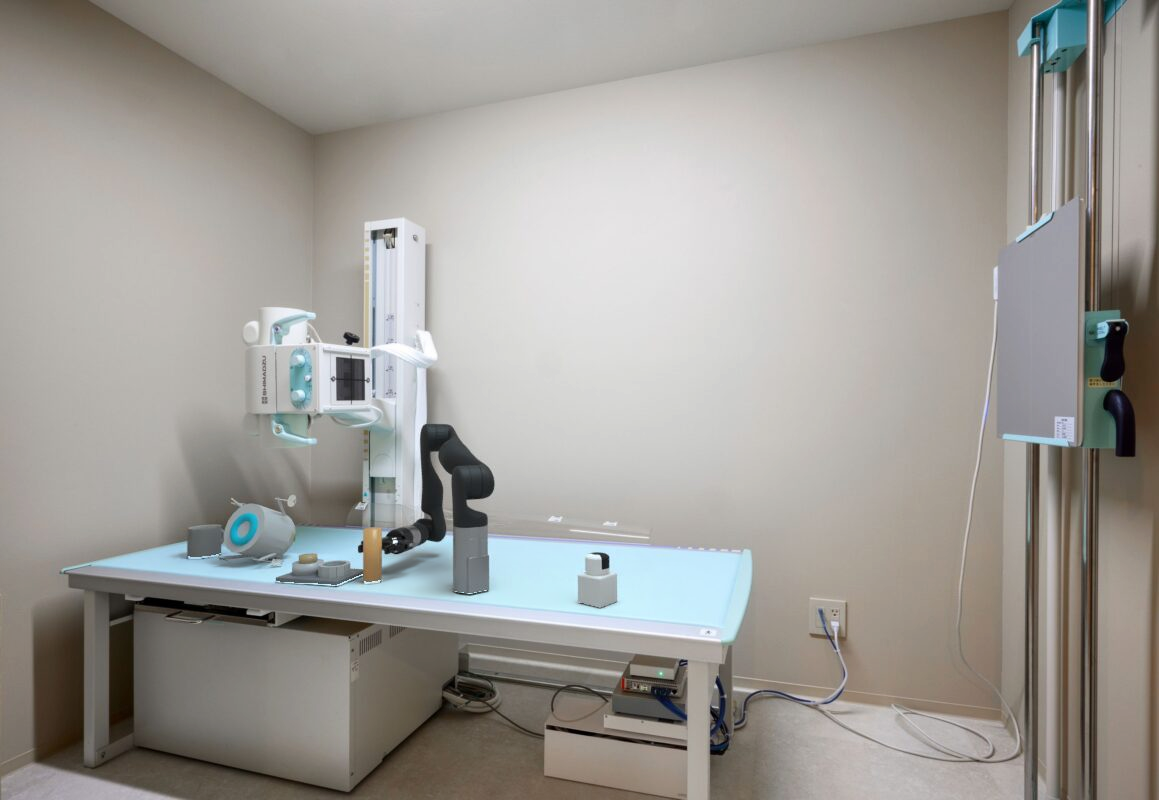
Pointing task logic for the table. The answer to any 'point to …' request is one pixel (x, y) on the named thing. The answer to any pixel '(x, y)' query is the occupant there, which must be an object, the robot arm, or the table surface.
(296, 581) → the housing
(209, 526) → the coffee mug
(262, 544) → the satellite
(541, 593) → the table surface
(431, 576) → the table surface
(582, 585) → the medicine bottle
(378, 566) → the cylinder
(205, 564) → the table surface
